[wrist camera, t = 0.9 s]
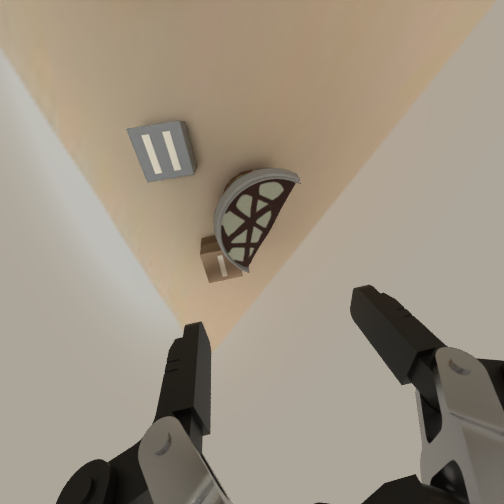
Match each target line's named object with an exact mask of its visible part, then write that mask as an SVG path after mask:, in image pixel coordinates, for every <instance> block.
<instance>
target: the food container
mask: <svg viewBox="0 0 504 504" xmlns="http://www.w3.org/2000/svg"><path fill="white" fill-rule="evenodd" d="M299 181H300V178H299V177H298V175H297V174H296V173H293V172H291V171H288V170H284V169H279V168H267V169H260V170H249V171H245V172H242V173H240V174H239V175H237V176H236V177H234V178H233V179H232V180H231V181H230V182H229V183H228V185H227V186H226V188H225V190H224V193H223V195H222V197H221V199H220V201H219V203H218V205H217V208H216V211H215V216H214V232H215V237H216V239H217V242H218V244H219V246H220V248H221V250H222V252H223V253H224V255H225V256H226V257H227V259H228V260H229V261H230V262H231V263H233V264H234V265H235V266H236V267H238V268H239V269H241V270H243V271H245V272H248V273H249V267H248V266H249V264H250V263H251V261H252V259H253V257H254V255H255V253H256V252H257V250H258V248H259V247H260V245H261V243H262V242H263V240H264V239H265V237H266V236H267V234H268V233H269V231H270V230H271V228H272V226H273V224H274V222H275V220H276V218H277V216H278V214H279V212H280V210H281V208H282V206H283V204H284V203H285V201H286V199H287V197H288V195H289V194H290V192H291V190H292V188H293V187H294V185H295V183H299V184H301V183H300V182H299Z"/></svg>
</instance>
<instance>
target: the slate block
mask: <svg viewBox="0 0 504 504" xmlns="http://www.w3.org/2000/svg"><path fill="white" fill-rule="evenodd" d="M127 132H128V134H129V137H130V140H131V142H132V145H133V147H134V150H135V152H136V155H137V157H138V160H139V162H140V165H141V167H142V170H143V172H144V175H145V178H146V180H147V182H153V181H159V180H165V179H170V178H176V177H182V176H187V175H193V174H194V173H195V170H196V168H197V166H196V162H195V159H194V155H193V151H192V147H191V143H190V139H189V136H188V132H187V128H186V124H185V122H183V121H173V122H167V123H160V124H154V125H148V126H141V127H135V128H129V129H127Z"/></svg>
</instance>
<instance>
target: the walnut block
mask: <svg viewBox="0 0 504 504" xmlns="http://www.w3.org/2000/svg"><path fill="white" fill-rule="evenodd" d="M200 256H201V259H202V262H203V265H204V268H205V271H206V274H207V277H208V281H209V283H212V282H217V281H221V280H226V279H231V278H235V277H240V276H243V275H242V270H241V269H239V268H238V267H236V266H235V265H234V264H233V263H231V262H230V261H229V260H228V259H227V257H226V256H225V255H224V253H223V252H222V250H221V248H220V246H219V244H218V242H217V239H216V237H215V236H210V237H205V238H202V241H201V251H200Z"/></svg>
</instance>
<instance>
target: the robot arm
mask: <svg viewBox="0 0 504 504" xmlns="http://www.w3.org/2000/svg"><path fill="white" fill-rule="evenodd" d="M350 312H351V316H352V318H353V320H354V322H355V323H356V324H357V325H358V327H359V328H360V330H361V331H362V332H363V334H364V335H365V336H366V338H367V339H368V340H369V342H370V343H371V344H372V346H373V347H374V348H375V350H376V351H377V352H378V354H379V355H380V356H381V358H382V359H383V361H384V362H385V363H386V364H387V366H388V367H389V369H390V370H391V371H392V372H393V374H394V375H395V377H396V378H397V379H398V380H399V382H400V383H401V385H405V384H409V383H412V384H413V385H414V386H415V387H416V392H415V393H416V401H417V409H418V416H419V424H420V431H421V439H422V452H421V460H420V467H421V468H420V469H421V479H422V483H420V481H419V480H418V478H417V476H416V474H414V475H411V476H408V477H404V478H401V479H397V480H394V481H391V482H387V483H384V484H383V485H382V486H381V487H380V488H379V489H378V490H376V492H374V493H373V494H372V495H371V496H370V497H369V498H367V500H365V501H364V502H363V503H362V504H504V361H501V360H500V361H499V360H488V359H477V358H475V357H473V356H472V355H470V354H468V353H467V352H464V351H462V350H460V349H456V348H452V347H447V346H446V345H445V344H444V343H443V342H441V341H440V340H439V339H438V338H437V337H436V336H435V335H434V334H433V333H431V332H430V331H429V330H428V329H427V328H426V327H425V326H424V325H423V324H422V323H421V322H420V321H419V320H417V319H416V318H415V317H414V316H412V314H411V313H410V312H409V311H408V310H407V309H404V307H403V306H402V305H401V304H400V303H399V302H398V301H397V300H396V299H394V298H392V297H390V296H389V295H387V294H385V293H379V292H378V291H377V290H376V289H375V288H374V287H373V286H371V285H366V286H361V287H357V288H354V289H353V294H352V300H351V307H350ZM210 405H211V347H210V342H209V339H208V336H207V334H206V331H205V329H204V326H203V323H202V322H197V323H192V324H188V325H185V328H184V334H183V337H182V338H178V339H175V341H174V343H173V344H172V346H171V348H170V349H169V353H168V358H167V364H166V368H165V374H164V377H163V382H162V387H161V392H160V397H159V402H158V407H157V412H156V416H155V419H154V421H153V423H152V425H151V426H150V428H149V429H148V430H147V431H146V433H145V435H144V436H143V438H142V439H141V440H140V441H139V442H138V443H136V444H135V445H134V446H132V447H131V448H129V449H128V450H126V451H125V452H123V453H121V454H120V455H118V456H117V457H115V458H114V459H112V460H111V461H109V462H105V461H104V460H101V459H97V460H93V461H91V462H89V463H87V464H85V465H84V466H82V467H81V468H80V469H79V470H78V471H77V472H76V473H75V474H74V475H73V476H72V477H71V478H70V480H69V481H68V482H67V484H66V485H65V487H64V488H63V490H62V492H61V494H60V496H59V498H58V500H57V502H56V504H233V503H232V502H231V501H230V499H229V497H228V496H227V494H226V492H225V490H224V489H223V487H222V486H221V483H220V482H219V480H218V478H217V477H216V475H215V474H214V472H213V470H212V468H211V467H210V465H209V463H208V462H207V460H206V458H205V456H204V455H203V453H202V436H204V435H208V434H210V410H211V409H210V408H211V406H210ZM315 504H327V503H315Z"/></svg>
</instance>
